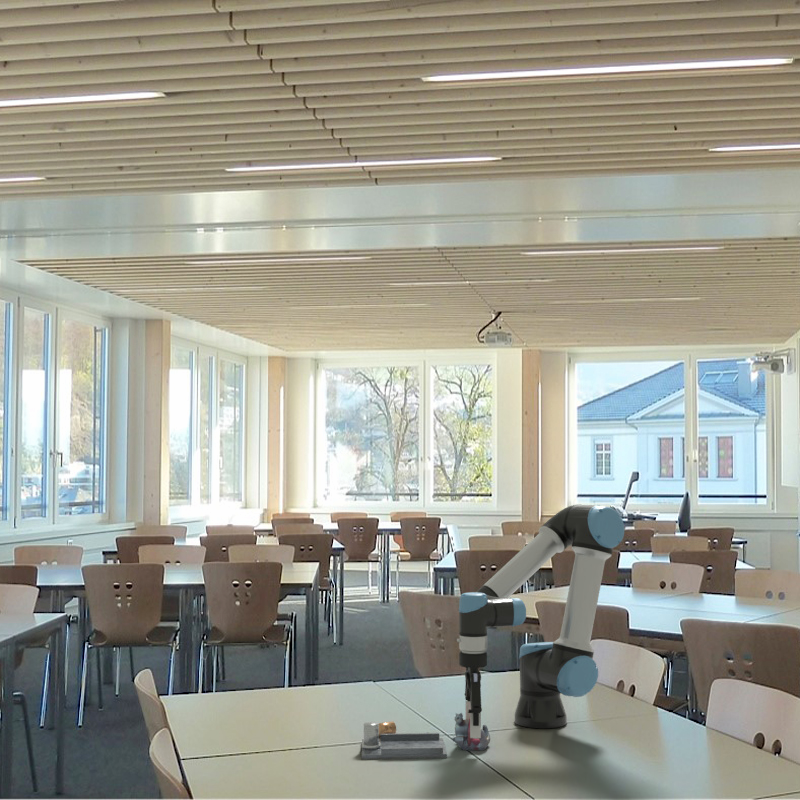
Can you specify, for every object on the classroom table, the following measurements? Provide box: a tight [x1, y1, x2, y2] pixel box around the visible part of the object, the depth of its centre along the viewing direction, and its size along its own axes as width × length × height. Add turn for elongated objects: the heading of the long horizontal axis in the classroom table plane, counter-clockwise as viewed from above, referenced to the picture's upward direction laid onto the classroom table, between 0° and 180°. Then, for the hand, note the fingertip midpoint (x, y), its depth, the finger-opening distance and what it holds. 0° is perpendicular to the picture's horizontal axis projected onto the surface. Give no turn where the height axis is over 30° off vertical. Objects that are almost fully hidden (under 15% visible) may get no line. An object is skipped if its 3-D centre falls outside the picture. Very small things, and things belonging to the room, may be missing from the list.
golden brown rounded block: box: [379, 720, 397, 738], centre depth 303 cm, size 6×4×4 cm, turn 122°
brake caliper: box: [451, 712, 492, 751], centre depth 290 cm, size 11×11×12 cm
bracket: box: [361, 721, 448, 760], centre depth 287 cm, size 22×16×7 cm
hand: (472, 731), depth 289 cm, fingers open, 13 cm apart
